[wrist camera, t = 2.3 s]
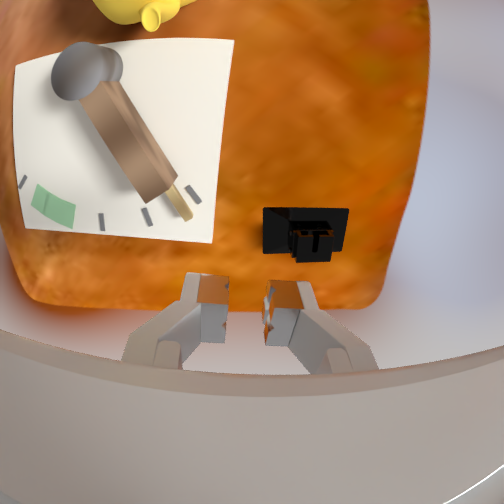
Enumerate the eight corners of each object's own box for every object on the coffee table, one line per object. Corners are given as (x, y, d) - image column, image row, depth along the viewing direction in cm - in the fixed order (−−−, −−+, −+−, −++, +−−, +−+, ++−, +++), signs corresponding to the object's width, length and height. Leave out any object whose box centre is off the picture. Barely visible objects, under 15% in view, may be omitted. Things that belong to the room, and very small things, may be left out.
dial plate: (23, 65, 18) (14, 65, 16) (233, 43, 21) (233, 39, 19) (31, 222, 28) (24, 229, 27) (212, 236, 31) (211, 244, 29)
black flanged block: (361, 200, 30) (378, 217, 26) (350, 256, 34) (364, 278, 30) (249, 199, 29) (251, 217, 25) (248, 259, 33) (251, 283, 29)
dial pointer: (69, 71, 18) (43, 70, 14) (109, 37, 17) (86, 29, 13) (169, 227, 28) (159, 251, 24) (212, 203, 27) (208, 224, 23)
